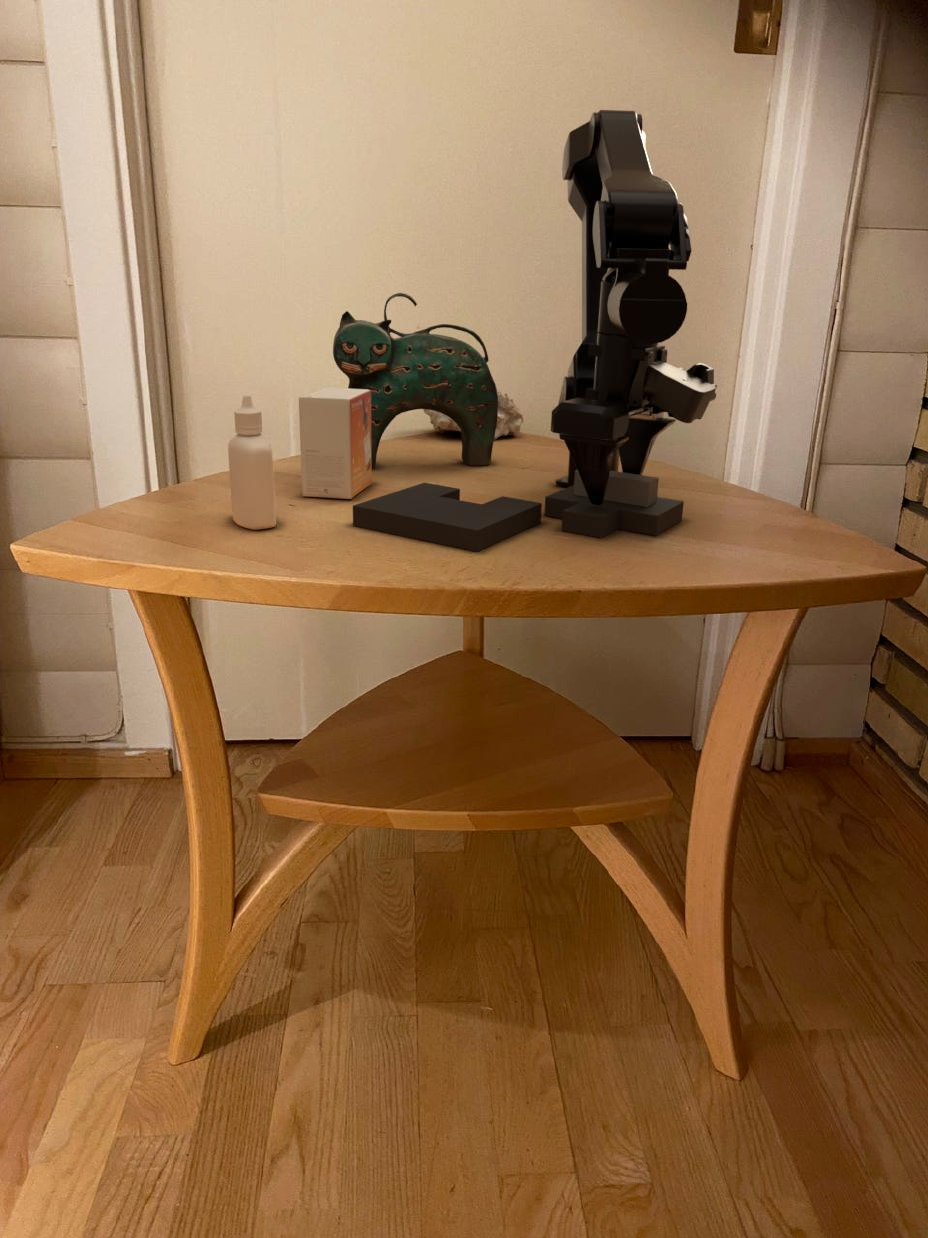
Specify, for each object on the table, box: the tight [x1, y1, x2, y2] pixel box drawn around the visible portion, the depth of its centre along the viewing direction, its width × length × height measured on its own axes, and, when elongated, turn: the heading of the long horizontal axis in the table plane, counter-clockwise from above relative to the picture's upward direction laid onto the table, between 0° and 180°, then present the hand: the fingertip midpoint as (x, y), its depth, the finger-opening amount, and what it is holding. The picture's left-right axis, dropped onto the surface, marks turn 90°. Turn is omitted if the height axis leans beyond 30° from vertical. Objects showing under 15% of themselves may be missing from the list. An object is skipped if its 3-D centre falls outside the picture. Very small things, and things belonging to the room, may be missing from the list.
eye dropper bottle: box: [227, 394, 277, 531], centre depth 90 cm, size 4×6×12 cm
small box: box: [298, 386, 373, 500], centre depth 103 cm, size 8×6×10 cm
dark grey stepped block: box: [543, 470, 685, 539], centre depth 94 cm, size 11×12×4 cm
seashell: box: [422, 391, 524, 441], centre depth 136 cm, size 14×9×10 cm
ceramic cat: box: [332, 292, 498, 470], centre depth 114 cm, size 20×6×20 cm, turn 104°
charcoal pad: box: [352, 482, 543, 553], centre depth 93 cm, size 12×14×2 cm
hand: (614, 495), depth 96 cm, fingers open, 8 cm apart
